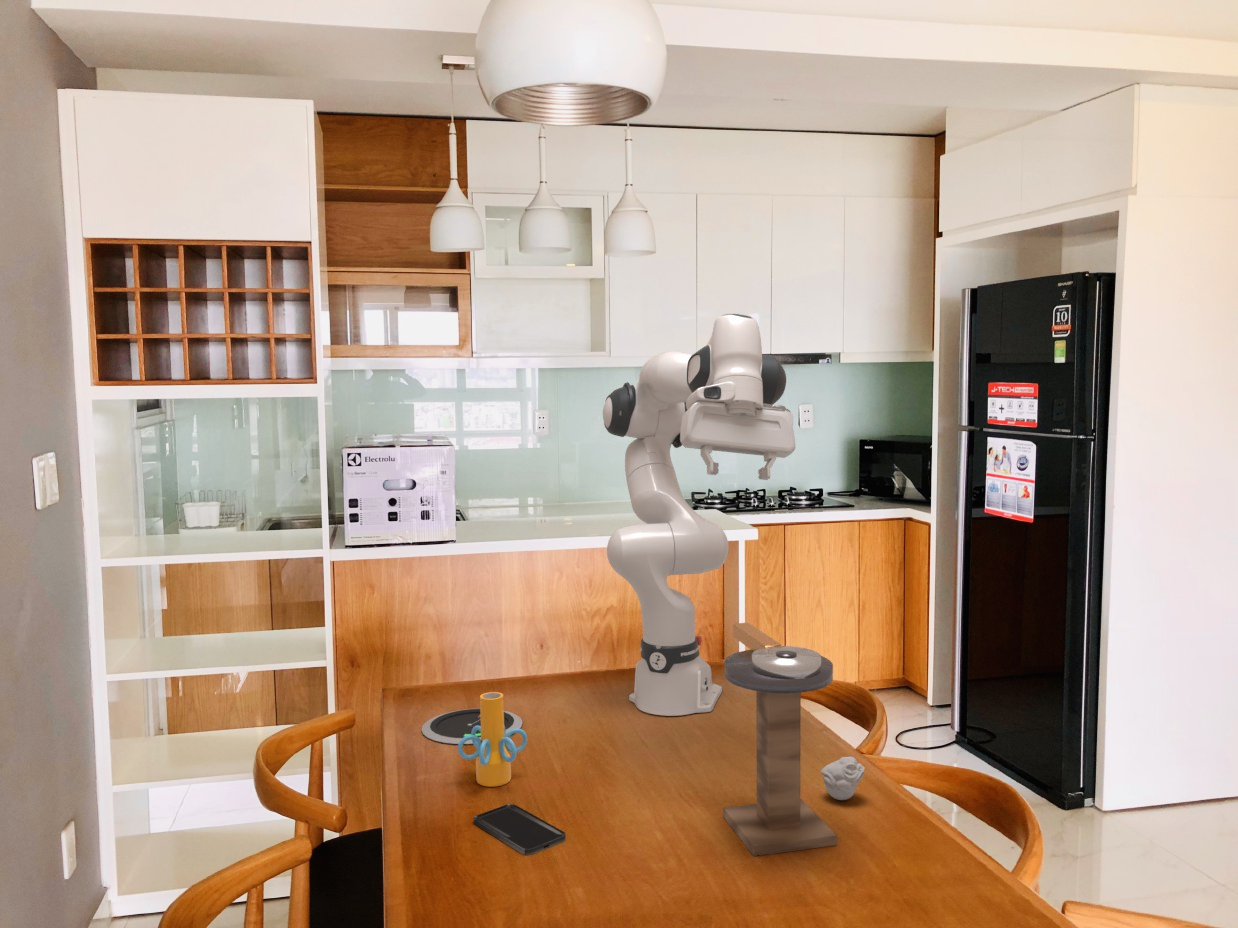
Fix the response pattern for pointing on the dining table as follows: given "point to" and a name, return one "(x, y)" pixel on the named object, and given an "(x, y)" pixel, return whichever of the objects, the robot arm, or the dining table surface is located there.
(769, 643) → the cover
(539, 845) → the phone
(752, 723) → the dining table surface
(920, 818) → the dining table surface
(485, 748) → the cylinder
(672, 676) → the robot arm
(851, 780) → the frog figurine
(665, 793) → the dining table surface
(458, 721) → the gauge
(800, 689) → the pedestal
